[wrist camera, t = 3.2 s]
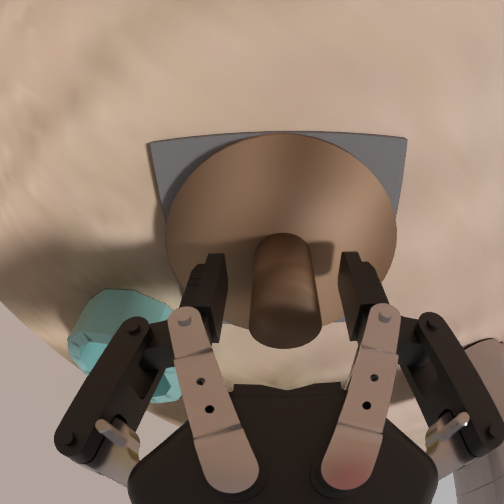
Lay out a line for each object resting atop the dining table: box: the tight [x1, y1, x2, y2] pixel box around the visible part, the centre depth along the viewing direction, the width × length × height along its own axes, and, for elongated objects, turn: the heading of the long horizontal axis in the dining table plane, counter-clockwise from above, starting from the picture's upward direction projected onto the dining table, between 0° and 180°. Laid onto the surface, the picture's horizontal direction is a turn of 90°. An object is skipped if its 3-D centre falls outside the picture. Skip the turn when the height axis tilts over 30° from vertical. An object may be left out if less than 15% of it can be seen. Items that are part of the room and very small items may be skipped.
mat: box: [150, 131, 407, 324], centre depth 15 cm, size 12×12×1 cm
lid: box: [166, 133, 397, 349], centre depth 13 cm, size 12×12×5 cm
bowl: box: [67, 289, 182, 403], centre depth 19 cm, size 9×9×4 cm
